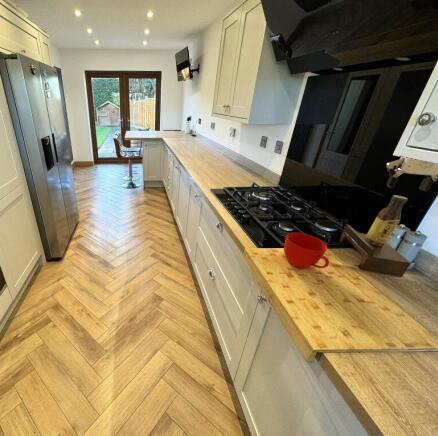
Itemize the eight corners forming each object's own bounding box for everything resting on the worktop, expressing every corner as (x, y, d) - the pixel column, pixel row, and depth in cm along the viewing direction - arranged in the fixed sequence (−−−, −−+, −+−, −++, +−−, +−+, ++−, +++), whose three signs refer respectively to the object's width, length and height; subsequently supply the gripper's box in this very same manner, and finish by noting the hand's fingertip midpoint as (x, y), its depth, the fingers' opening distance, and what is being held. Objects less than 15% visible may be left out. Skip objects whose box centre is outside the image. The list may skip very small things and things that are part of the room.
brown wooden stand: (371, 248, 103) (382, 229, 99) (401, 277, 86) (416, 256, 82) (337, 243, 106) (346, 224, 102) (360, 270, 89) (372, 249, 85)
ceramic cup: (304, 283, 81) (314, 259, 76) (271, 254, 95) (279, 233, 91) (335, 279, 83) (347, 256, 79) (298, 252, 98) (307, 231, 93)
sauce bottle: (377, 248, 91) (404, 200, 82) (360, 240, 96) (384, 194, 87) (388, 246, 93) (416, 199, 84) (371, 238, 98) (395, 193, 89)
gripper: (408, 138, 75) (383, 189, 83) (477, 142, 71) (444, 195, 79) (393, 136, 82) (371, 183, 89) (456, 139, 78) (427, 188, 85)
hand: (405, 188), depth 84 cm, fingers open, 9 cm apart
